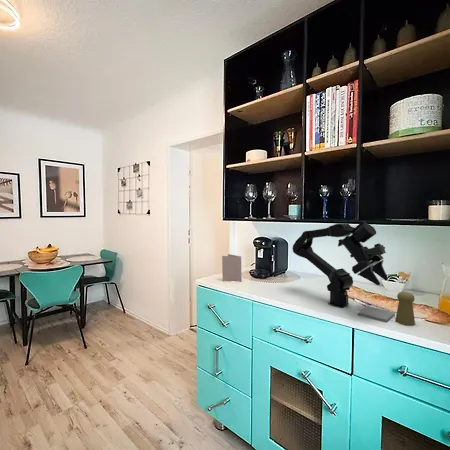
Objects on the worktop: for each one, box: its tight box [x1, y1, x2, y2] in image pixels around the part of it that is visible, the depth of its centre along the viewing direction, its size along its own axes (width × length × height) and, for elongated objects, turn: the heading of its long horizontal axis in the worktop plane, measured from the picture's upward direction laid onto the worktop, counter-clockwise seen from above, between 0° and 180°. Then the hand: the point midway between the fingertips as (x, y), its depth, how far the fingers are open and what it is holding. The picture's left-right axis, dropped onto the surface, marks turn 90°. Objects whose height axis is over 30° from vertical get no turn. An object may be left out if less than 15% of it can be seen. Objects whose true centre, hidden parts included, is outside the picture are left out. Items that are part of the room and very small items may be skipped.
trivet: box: [357, 305, 396, 323], centre depth 104 cm, size 10×10×1 cm
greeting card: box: [221, 253, 243, 283], centre depth 156 cm, size 11×7×15 cm, turn 41°
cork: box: [394, 291, 416, 327], centre depth 97 cm, size 6×6×11 cm
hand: (383, 282), depth 102 cm, fingers open, 9 cm apart
